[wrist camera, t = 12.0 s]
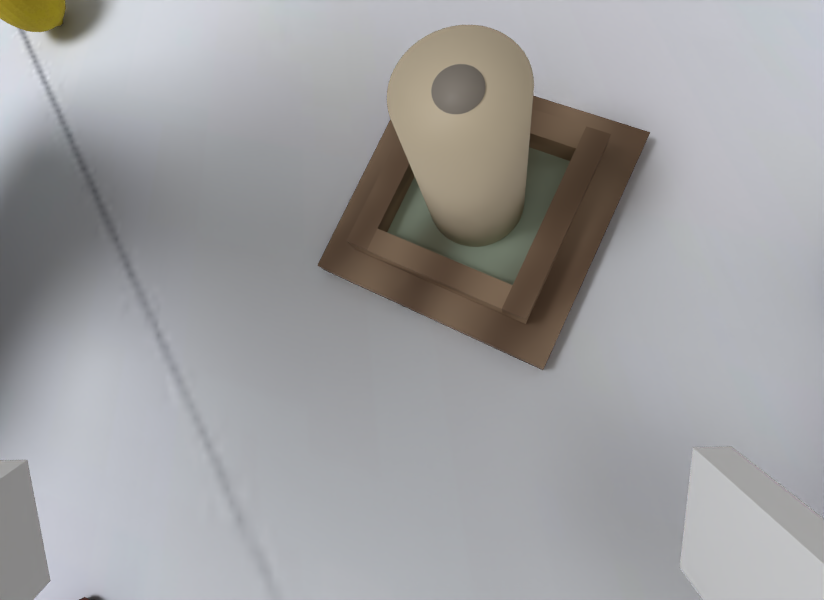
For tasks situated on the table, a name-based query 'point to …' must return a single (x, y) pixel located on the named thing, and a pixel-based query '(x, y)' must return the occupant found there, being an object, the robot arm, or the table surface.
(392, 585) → the table surface
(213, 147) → the table surface
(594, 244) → the walnut roll stand
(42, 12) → the lemon
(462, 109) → the kraft paper roll
